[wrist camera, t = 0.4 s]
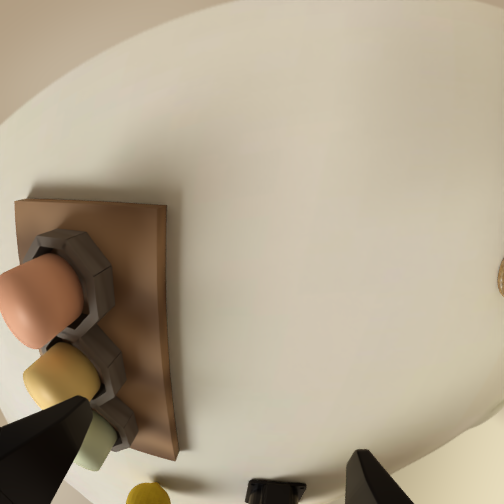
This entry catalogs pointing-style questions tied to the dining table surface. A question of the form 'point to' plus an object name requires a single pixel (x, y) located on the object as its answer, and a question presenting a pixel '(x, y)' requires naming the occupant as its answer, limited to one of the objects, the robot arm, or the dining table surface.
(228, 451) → the dining table surface
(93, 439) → the button sage
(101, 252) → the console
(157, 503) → the lemon
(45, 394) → the button ochre
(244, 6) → the dining table surface
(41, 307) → the button terracotta
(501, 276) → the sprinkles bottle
